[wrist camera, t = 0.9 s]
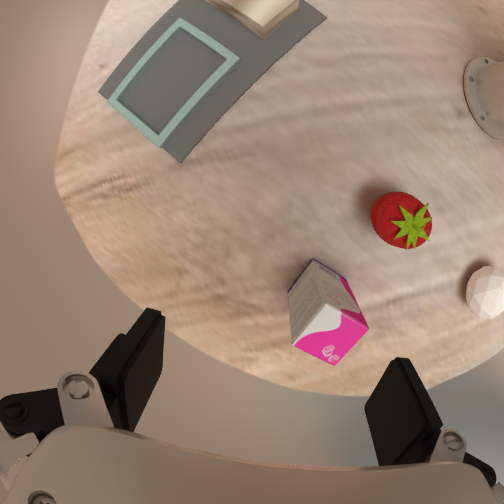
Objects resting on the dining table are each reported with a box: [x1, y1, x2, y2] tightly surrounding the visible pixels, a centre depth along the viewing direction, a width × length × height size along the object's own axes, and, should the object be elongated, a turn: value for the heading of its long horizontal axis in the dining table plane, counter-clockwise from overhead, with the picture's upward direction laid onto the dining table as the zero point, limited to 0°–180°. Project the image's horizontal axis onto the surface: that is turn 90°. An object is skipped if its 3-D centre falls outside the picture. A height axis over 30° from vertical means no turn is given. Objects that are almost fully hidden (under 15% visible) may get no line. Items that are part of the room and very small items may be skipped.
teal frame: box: [107, 18, 241, 148], centre depth 30 cm, size 14×10×1 cm
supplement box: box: [288, 259, 369, 366], centre depth 33 cm, size 6×6×12 cm
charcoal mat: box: [98, 0, 327, 163], centre depth 29 cm, size 26×16×1 cm, turn 138°
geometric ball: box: [466, 266, 504, 319], centre depth 33 cm, size 8×8×8 cm
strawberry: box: [371, 192, 432, 250], centre depth 29 cm, size 6×8×10 cm
